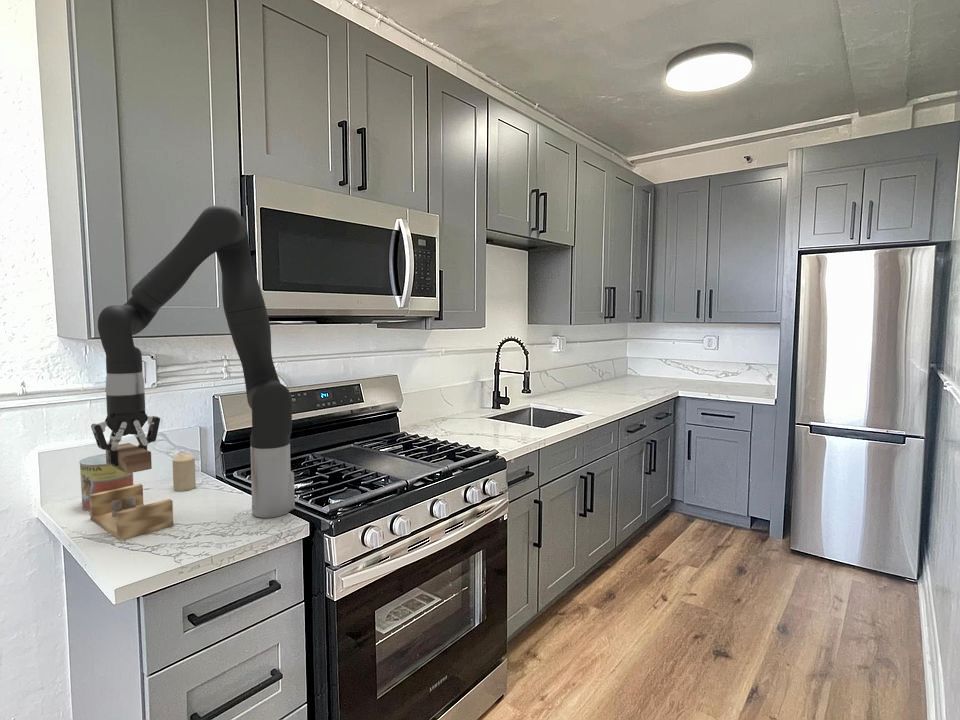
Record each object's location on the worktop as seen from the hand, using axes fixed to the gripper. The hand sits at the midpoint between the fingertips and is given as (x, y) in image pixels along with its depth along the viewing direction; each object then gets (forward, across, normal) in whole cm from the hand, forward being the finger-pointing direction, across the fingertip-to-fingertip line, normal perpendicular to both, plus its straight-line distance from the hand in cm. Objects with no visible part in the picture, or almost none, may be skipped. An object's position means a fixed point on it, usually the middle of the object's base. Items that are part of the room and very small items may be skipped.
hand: (128, 463), depth 128 cm
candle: (+15, +19, +16) cm, 29 cm away
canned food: (+15, +1, +18) cm, 23 cm away
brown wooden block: (+1, 0, 0) cm, 1 cm away
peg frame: (+14, 0, 0) cm, 14 cm away
